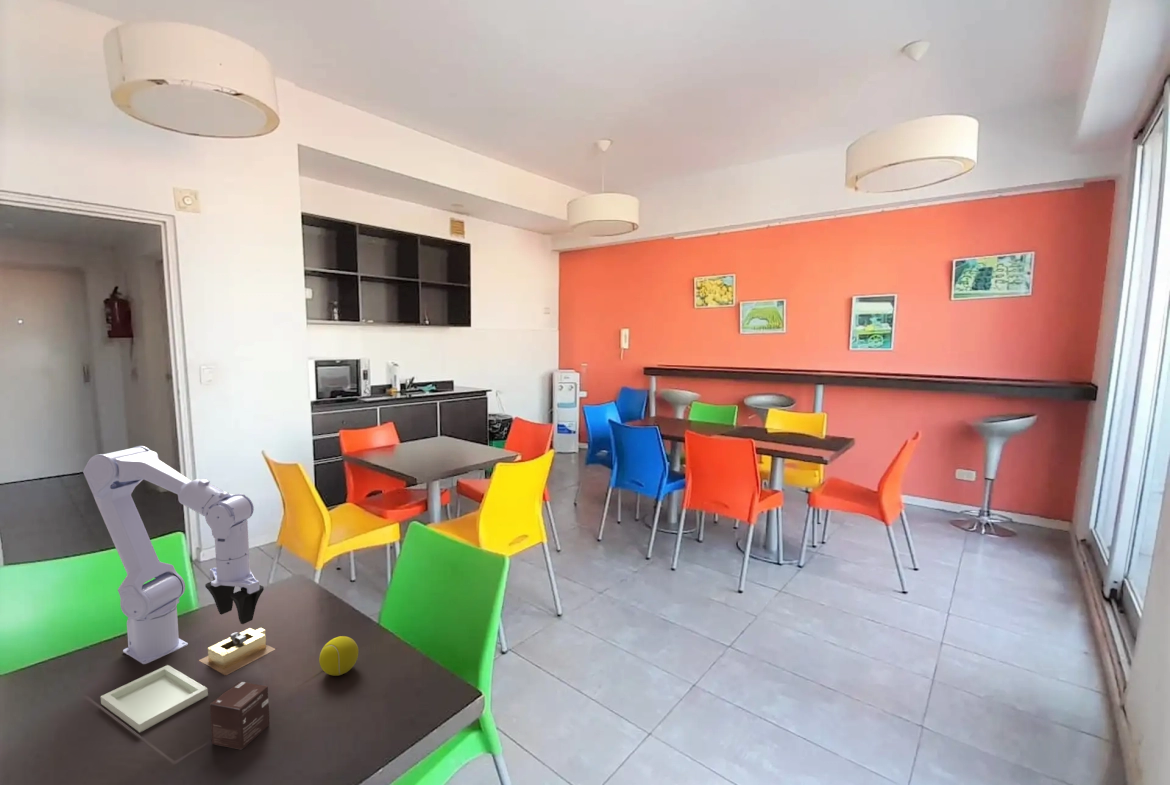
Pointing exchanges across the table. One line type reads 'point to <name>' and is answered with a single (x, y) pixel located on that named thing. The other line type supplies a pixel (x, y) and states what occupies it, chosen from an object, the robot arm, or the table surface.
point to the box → (239, 715)
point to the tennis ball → (338, 655)
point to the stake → (237, 638)
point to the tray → (153, 697)
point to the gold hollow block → (237, 648)
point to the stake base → (239, 664)
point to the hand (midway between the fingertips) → (236, 616)
